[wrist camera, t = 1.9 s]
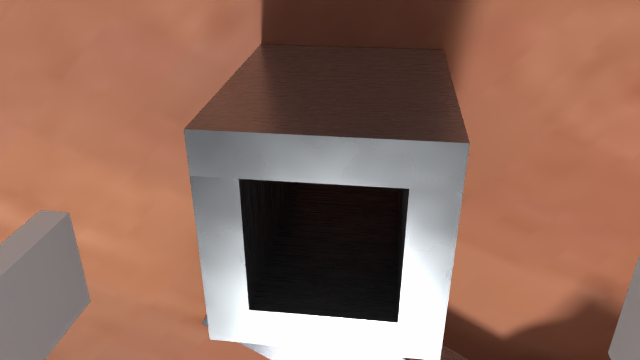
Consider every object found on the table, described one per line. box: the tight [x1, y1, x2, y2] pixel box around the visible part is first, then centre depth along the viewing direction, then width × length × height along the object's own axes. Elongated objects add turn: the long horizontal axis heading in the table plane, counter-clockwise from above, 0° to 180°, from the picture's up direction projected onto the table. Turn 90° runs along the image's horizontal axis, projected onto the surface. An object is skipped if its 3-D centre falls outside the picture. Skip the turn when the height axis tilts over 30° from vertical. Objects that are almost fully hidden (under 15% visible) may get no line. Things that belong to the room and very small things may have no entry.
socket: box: [184, 44, 470, 360], centre depth 17 cm, size 6×6×8 cm
